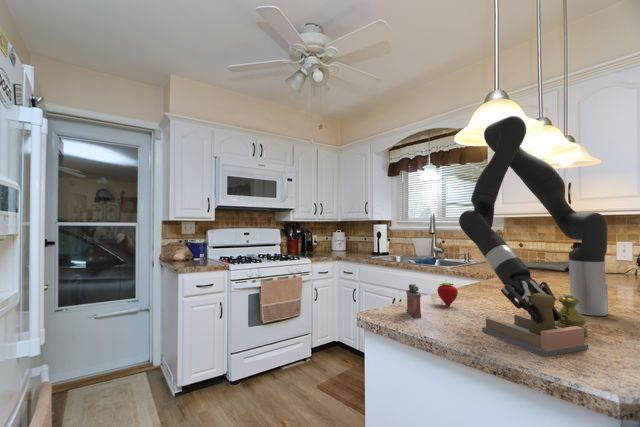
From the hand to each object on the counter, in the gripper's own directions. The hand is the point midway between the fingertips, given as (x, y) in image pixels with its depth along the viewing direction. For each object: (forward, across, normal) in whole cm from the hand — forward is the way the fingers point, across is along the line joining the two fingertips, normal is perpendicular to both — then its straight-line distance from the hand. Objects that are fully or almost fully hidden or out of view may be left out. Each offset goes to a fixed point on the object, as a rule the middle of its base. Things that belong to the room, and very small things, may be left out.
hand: (549, 320), depth 77 cm
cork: (+2, 0, +5) cm, 6 cm away
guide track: (+1, 0, +8) cm, 8 cm away
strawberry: (-24, +2, +33) cm, 41 cm away
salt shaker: (0, +15, +9) cm, 17 cm away
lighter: (-19, -16, +29) cm, 38 cm away
